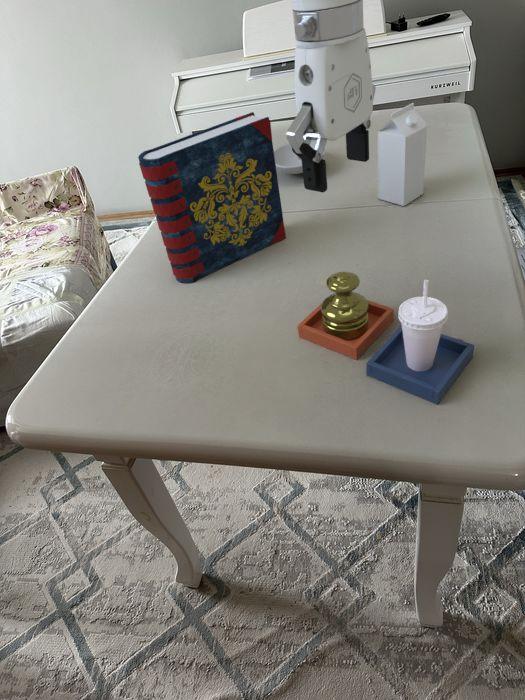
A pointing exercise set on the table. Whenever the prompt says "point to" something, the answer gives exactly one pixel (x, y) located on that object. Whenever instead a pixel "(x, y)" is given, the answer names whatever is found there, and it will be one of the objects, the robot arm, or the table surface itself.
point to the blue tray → (423, 384)
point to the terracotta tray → (352, 347)
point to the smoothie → (422, 329)
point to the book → (215, 195)
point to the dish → (289, 159)
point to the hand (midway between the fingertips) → (337, 174)
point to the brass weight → (344, 307)
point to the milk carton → (402, 157)
